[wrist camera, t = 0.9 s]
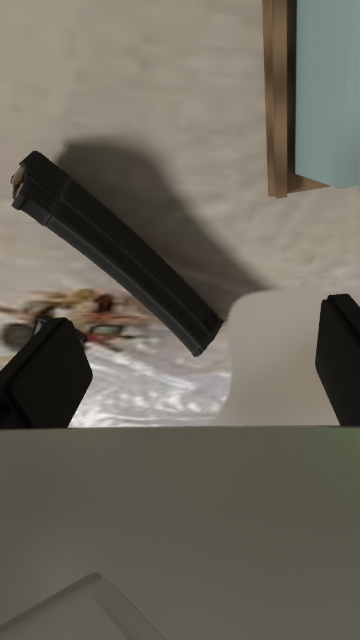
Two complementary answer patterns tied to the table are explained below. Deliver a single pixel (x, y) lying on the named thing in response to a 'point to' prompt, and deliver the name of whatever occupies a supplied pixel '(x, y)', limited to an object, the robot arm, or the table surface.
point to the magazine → (113, 249)
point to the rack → (281, 99)
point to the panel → (327, 91)
